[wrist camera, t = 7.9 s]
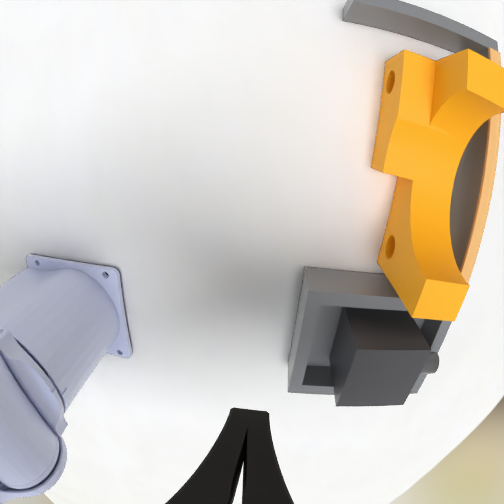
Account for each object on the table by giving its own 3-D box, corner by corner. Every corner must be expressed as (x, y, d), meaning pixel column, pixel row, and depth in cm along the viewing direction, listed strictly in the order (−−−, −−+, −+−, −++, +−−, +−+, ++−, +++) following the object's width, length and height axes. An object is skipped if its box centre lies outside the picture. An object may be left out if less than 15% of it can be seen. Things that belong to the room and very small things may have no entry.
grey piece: (288, 362, 21) (287, 421, 16) (329, 7, 13) (345, -38, 7) (406, 367, 21) (426, 418, 16) (471, 49, 12) (522, 34, 7)
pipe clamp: (384, 62, 14) (432, 32, 8) (447, 84, 13) (511, 72, 8) (350, 256, 18) (377, 314, 12) (411, 266, 18) (454, 321, 12)
